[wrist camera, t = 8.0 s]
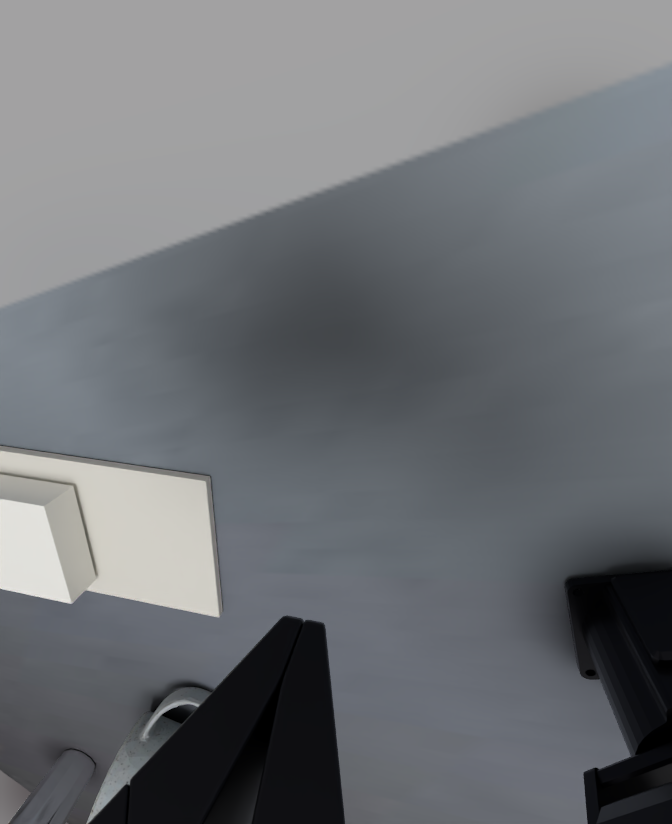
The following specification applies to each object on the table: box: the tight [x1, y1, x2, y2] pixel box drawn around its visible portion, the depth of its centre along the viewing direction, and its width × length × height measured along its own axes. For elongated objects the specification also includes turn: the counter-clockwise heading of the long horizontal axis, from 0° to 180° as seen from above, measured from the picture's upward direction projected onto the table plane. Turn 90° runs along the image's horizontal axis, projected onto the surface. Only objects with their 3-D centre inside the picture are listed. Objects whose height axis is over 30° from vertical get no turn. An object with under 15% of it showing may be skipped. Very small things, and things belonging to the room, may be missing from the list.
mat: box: [0, 446, 223, 617], centre depth 26 cm, size 20×10×1 cm, turn 88°
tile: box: [0, 474, 96, 604], centre depth 25 cm, size 2×7×9 cm
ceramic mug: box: [87, 687, 211, 824], centre depth 28 cm, size 11×8×8 cm
